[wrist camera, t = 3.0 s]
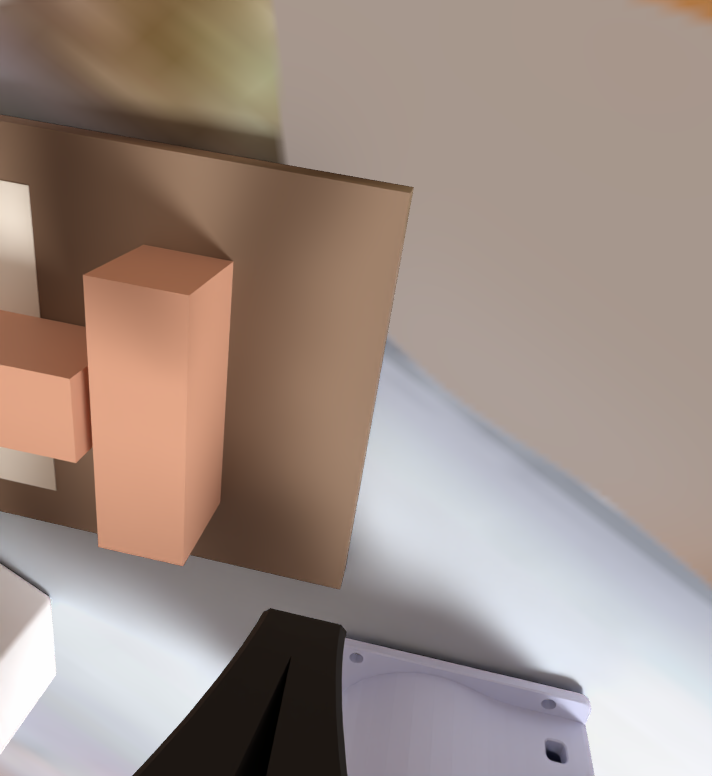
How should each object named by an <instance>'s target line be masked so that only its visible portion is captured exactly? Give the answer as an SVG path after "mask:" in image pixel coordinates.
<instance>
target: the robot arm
mask: <svg viewBox="0 0 712 776" xmlns="http://www.w3.org/2000/svg"><path fill="white" fill-rule="evenodd" d="M345 637H346V630H345V629H344V628H343V627H342V626H341V625H339V624H335V623H330V622H326V621H322V620H318V619H313V618H309V617H305V616H301V615H296V614H292V613H288V612H284V611H279V610H275V609H271V608H270V609H268V610H266V611H264V612H263V614H262V615H261V617H260V619H259V620H258V622H257V624H256V625H255V627H254V628H253V630H252V631H251V633H250V634H249V636H248V637H247V639H246V640H245V642H244V643H243V645H242V646H241V648H240V649H239V650H238V652H237V653H236V655H235V656H234V657H233V659H232V660H231V661H230V663H229V664H228V665H227V667H226V668H225V669H224V671H223V672H222V673H221V675H220V676H219V677H218V678H217V680H216V681H215V682H214V683H213V684H212V686H211V687H210V688H209V689H208V691H207V692H206V693H205V694H204V696H203V697H202V698H201V699H200V700H199V702H198V703H197V704H196V705H195V707H194V708H193V709H192V710H191V711H190V713H189V714H188V715H187V716H186V717H185V719H184V720H183V721H182V722H181V723H180V724H179V725H178V726H177V728H176V729H175V730H174V731H173V732H172V733H171V734H170V735H169V736H168V738H167V739H166V740H165V741H164V742H163V743H162V744H161V745H160V746H159V747H158V749H157V750H156V751H155V752H154V753H153V754H152V755H151V756H150V757H149V759H148V760H147V761H146V762H145V763H144V764H143V765H142V766H141V767H140V768H139V769H138V770H137V771H136V772H135V773H134V774H133V775H132V776H595V775H594V770H593V764H592V759H591V753H590V748H589V742H588V737H587V731H586V726H585V724H586V722H587V720H588V718H589V716H590V714H591V705H590V701H589V699H588V698H587V697H586V696H585V695H583V694H580V693H577V692H572V691H568V690H564V689H560V688H556V687H551V686H547V685H543V684H539V683H534V682H530V681H526V680H522V679H518V678H513V677H509V676H505V675H501V674H496V673H492V672H488V671H484V670H480V669H475V668H471V667H467V666H463V665H458V664H454V663H450V662H446V661H442V660H437V659H433V658H429V657H425V656H421V655H416V654H412V653H408V652H404V651H399V650H395V649H391V648H387V647H383V646H378V645H374V644H370V643H366V642H361V641H357V640H353V639H349V638H345ZM354 653H358V654H360V655H357V654H354ZM546 699H550V700H546Z"/></svg>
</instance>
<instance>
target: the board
mask: <svg viewBox="0 0 712 776" xmlns="http://www.w3.org/2000/svg"><path fill="white" fill-rule="evenodd" d="M412 194H413V187H409V186H404V185H398V184H392V183H386V182H381V181H375V180H369V179H363V178H358V177H353V176H346V175H341V174H335V173H330V172H324V171H318V170H312V169H306V168H301V167H296V166H290V165H284V164H279V163H273V162H267V161H262V160H256V159H250V158H245V157H239V156H233V155H227V154H222V153H216V152H210V151H205V150H199V149H193V148H188V147H182V146H176V145H171V144H165V143H159V142H154V141H148V140H142V139H137V138H131V137H125V136H119V135H114V134H108V133H102V132H97V131H91V130H85V129H80V128H74V127H68V126H63V125H57V124H51V123H46V122H40V121H34V120H29V119H23V118H17V117H11V116H6V115H0V310H3V311H8V312H13V313H18V314H24V315H29V316H34V317H39V318H44V319H49V320H54V321H59V322H64V323H69V324H74V325H79V326H84V327H86V321H85V304H84V286H83V275H84V274H86V273H88V272H90V271H92V270H94V269H96V268H98V267H100V266H102V265H104V264H106V263H108V262H110V261H112V260H114V259H116V258H118V257H120V256H122V255H124V254H126V253H128V252H130V251H132V250H134V249H136V248H138V247H140V246H142V245H148V246H154V247H159V248H164V249H170V250H175V251H180V252H186V253H191V254H196V255H202V256H207V257H212V258H218V259H223V260H228V261H233V279H232V297H231V315H230V333H229V351H228V370H227V388H226V406H225V424H224V442H223V460H222V478H221V497H220V504H219V505H218V507H217V509H216V511H215V512H214V514H213V516H212V517H211V519H210V521H209V523H208V524H207V526H206V528H205V529H204V531H203V533H202V535H201V536H200V538H199V540H198V541H197V543H196V545H195V547H194V548H193V550H192V552H191V553H190V555H193V556H197V557H201V558H206V559H210V560H214V561H219V562H223V563H227V564H232V565H236V566H240V567H245V568H249V569H253V570H258V571H262V572H266V573H271V574H275V575H279V576H284V577H288V578H292V579H297V580H301V581H305V582H310V583H314V584H318V585H323V586H327V587H331V588H336V589H340V588H341V584H342V580H343V576H344V572H345V568H346V562H347V557H348V551H349V545H350V540H351V534H352V529H353V523H354V518H355V512H356V506H357V501H358V495H359V490H360V484H361V478H362V473H363V467H364V462H365V456H366V450H367V445H368V439H369V434H370V428H371V423H372V417H373V411H374V406H375V400H376V395H377V389H378V383H379V378H380V372H381V367H382V361H383V356H384V350H385V344H386V339H387V333H388V328H389V322H390V316H391V311H392V305H393V300H394V294H395V288H396V283H397V277H398V272H399V266H400V260H401V254H402V249H403V243H404V238H405V232H406V227H407V221H408V215H409V210H410V205H411V198H412ZM0 511H2V512H6V513H11V514H15V515H19V516H24V517H28V518H32V519H37V520H41V521H45V522H50V523H54V524H58V525H63V526H67V527H71V528H76V529H80V530H84V531H89V532H93V533H97V534H98V531H97V513H96V496H95V478H94V461H93V447H92V448H91V449H90V450H89V451H88V452H87V453H86V454H85V455H84V456H83V457H82V458H81V459H80V460H79V461H78V462H77V463H73V462H69V461H64V460H59V459H55V458H50V457H46V456H41V455H36V454H32V453H27V452H22V451H18V450H13V449H9V448H4V447H0Z"/></svg>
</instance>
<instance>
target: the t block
mask: <svg viewBox="0 0 712 776" xmlns="http://www.w3.org/2000/svg"><path fill="white" fill-rule="evenodd" d="M232 279H233V261H228V260H223V259H218V258H212V257H207V256H202V255H196V254H191V253H186V252H180V251H175V250H170V249H164V248H159V247H154V246H148V245H142V246H140V247H138V248H136V249H134V250H132V251H130V252H128V253H126V254H124V255H122V256H120V257H118V258H116V259H114V260H112V261H110V262H108V263H106V264H104V265H102V266H100V267H98V268H96V269H94V270H92V271H90V272H88V273H86V274H84V275H83V286H84V304H85V321H86V327H84V326H79V325H74V324H69V323H64V322H59V321H54V320H49V319H44V318H39V317H34V316H29V315H24V314H18V313H13V312H8V311H3V310H0V447H4V448H9V449H13V450H18V451H22V452H27V453H32V454H36V455H41V456H46V457H50V458H55V459H59V460H64V461H69V462H73V463H77V462H78V461H79V460H80V459H81V458H82V457H83V456H84V455H85V454H86V453H87V452H88V451H89V450H90V449H91V448H92V447H93V461H94V478H95V496H96V513H97V531H98V547H101V548H105V549H109V550H114V551H118V552H123V553H127V554H131V555H136V556H140V557H145V558H149V559H154V560H158V561H162V562H167V563H171V564H176V565H180V566H183V565H184V564H185V562H186V560H187V559H188V557H189V555H190V553H191V552H192V550H193V548H194V547H195V545H196V543H197V541H198V540H199V538H200V536H201V535H202V533H203V531H204V529H205V528H206V526H207V524H208V523H209V521H210V519H211V517H212V516H213V514H214V512H215V511H216V509H217V507H218V505H219V504H220V497H221V478H222V460H223V442H224V424H225V406H226V388H227V370H228V351H229V333H230V315H231V297H232Z"/></svg>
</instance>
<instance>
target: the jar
mask: <svg viewBox="0 0 712 776" xmlns="http://www.w3.org/2000/svg"><path fill="white" fill-rule="evenodd" d="M55 675H56V661H55V649H54V636H53V623H52V609H51V599H50V597H49V596H47V595H46V594H44V593H43V592H42V591H40V590H39V589H37V588H36V587H34V586H33V585H31V584H30V583H28V582H27V581H25V580H24V579H22V578H21V577H19V576H18V575H16V574H15V573H13V572H12V571H11V570H9V569H8V568H6V567H5V566H3V565H2V564H0V754H1V753H2V751H3V750H4V749H5V747H6V746H7V744H8V743H9V741H10V740H11V739H12V737H13V736H14V734H15V733H16V731H17V730H18V729H19V727H20V726H21V724H22V723H23V721H24V720H25V719H26V717H27V716H28V714H29V713H30V711H31V710H32V709H33V707H34V706H35V704H36V703H37V701H38V700H39V699H40V697H41V696H42V694H43V693H44V691H45V690H46V689H47V687H48V686H49V684H50V683H51V681H52V680H53V679H54V677H55Z"/></svg>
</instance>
